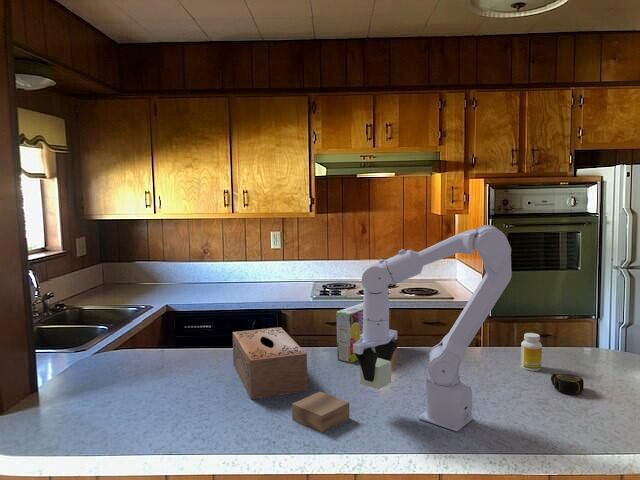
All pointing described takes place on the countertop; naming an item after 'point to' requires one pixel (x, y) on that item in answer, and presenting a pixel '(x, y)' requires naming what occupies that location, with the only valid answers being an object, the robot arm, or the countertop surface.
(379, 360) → the sage cube
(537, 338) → the supplement bottle
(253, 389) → the tissue box cover
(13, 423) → the countertop surface
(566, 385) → the tape measure
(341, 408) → the walnut block
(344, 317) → the snack box
